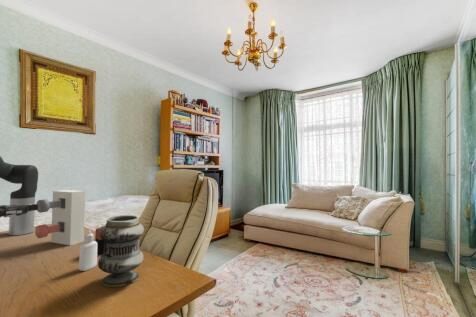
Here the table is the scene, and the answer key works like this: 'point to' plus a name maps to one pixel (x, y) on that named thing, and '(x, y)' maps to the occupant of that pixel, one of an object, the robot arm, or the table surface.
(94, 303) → the table surface
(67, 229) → the box
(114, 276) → the apothecary jar
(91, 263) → the eye dropper bottle
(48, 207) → the upper grey button
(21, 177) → the robot arm
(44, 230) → the lower red button
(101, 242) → the battery
